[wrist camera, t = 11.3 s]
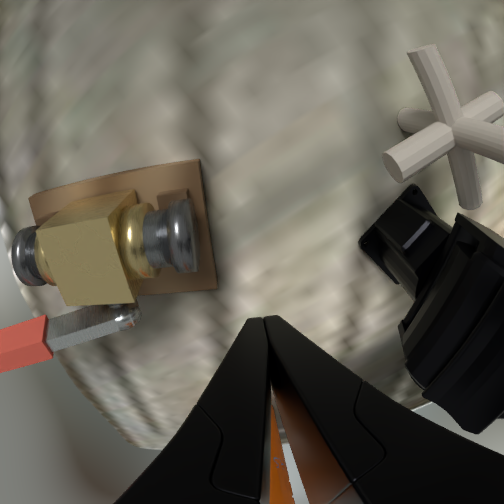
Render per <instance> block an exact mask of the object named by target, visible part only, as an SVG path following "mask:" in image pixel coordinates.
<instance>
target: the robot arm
mask: <svg viewBox="0 0 504 504" xmlns="http://www.w3.org/2000/svg"><path fill="white" fill-rule="evenodd" d="M414 189H415V192H414V193H413V190H414ZM365 241H367V243H365V244H364V242H365ZM359 245H360V247H361V248H362V249H363V250H364V251H365V252H366V253H367V254H368V255H369V256H370V257H371V258H372V259H373V260H374V261H375V262H376V263H377V264H378V265H379V266H380V268H381V269H382V270H383V271H384V272H385V273H386V274H387V275H388V276H389V277H390V278H391V279H392V280H393V281H394V283H395V284H401V285H402V287H403V288H404V289H405V290H406V292H407V293H408V294H409V295H410V297H411V298H412V299H413V300H414V304H413V305H412V307H411V309H410V310H409V312H408V313H407V315H406V317H405V318H404V320H401V322H400V324H399V325H398V329H399V333H400V338H401V342H402V346H403V351H404V355H405V360H406V361H405V367H406V369H407V370H408V372H409V374H410V376H411V378H412V379H413V380H414V382H415V383H416V384H417V385H418V386H419V387H420V388H421V389H423V390H424V391H423V392H422V396H423V397H424V398H425V399H428V400H430V401H432V402H434V403H436V404H437V405H439V406H440V407H441V408H443V409H444V410H446V411H447V412H448V413H449V414H450V415H451V416H452V417H453V419H454V420H455V421H456V422H457V423H458V424H459V426H461V428H462V429H463V430H465V431H468V432H471V433H474V434H480V433H481V432H482V431H483V430H485V429H486V428H487V427H488V426H489V425H490V424H491V423H493V422H494V421H495V420H496V419H504V238H503V237H501V236H500V235H498V234H497V233H495V232H494V231H492V230H491V229H489V228H487V227H485V226H483V225H482V224H480V223H478V222H476V221H474V220H472V219H470V218H468V217H466V216H464V215H462V214H460V213H457V215H456V218H455V224H454V226H453V227H451V226H450V225H448V224H447V223H446V222H444V221H443V220H441V219H440V218H439V217H437V215H436V213H435V212H434V210H433V209H432V207H431V205H430V204H429V202H428V200H427V199H426V197H425V196H424V194H423V193H422V191H421V190H420V188H419V187H418V186H416V185H414V184H411V185H410V186H409V187H408V188H407V189H406V190H405V191H404V192H403V193H402V194H401V196H400V197H399V198H398V199H397V200H396V201H395V202H394V203H393V204H392V205H391V206H390V207H389V208H388V209H387V210H386V211H385V212H384V213H383V214H382V215H381V216H380V218H379V219H378V220H377V221H376V222H375V223H374V224H373V225H372V226H371V227H370V228H369V229H368V230H367V231H366V232H365V233H364V234H363V235H362V236H361V238H360V239H359ZM271 386H272V390H273V394H274V397H275V401H276V404H277V407H278V410H279V413H280V416H281V419H282V423H283V426H284V429H285V432H286V435H287V438H288V441H289V444H290V447H291V450H292V453H293V456H294V459H295V462H296V465H297V468H298V471H299V474H300V477H301V480H302V483H303V486H304V489H305V492H306V495H307V498H308V501H309V503H310V504H504V455H502V454H499V453H497V452H495V451H493V450H490V449H488V448H486V447H484V446H482V445H479V444H477V443H475V442H473V441H471V440H468V439H466V438H464V437H462V436H460V435H458V434H456V433H454V432H452V431H449V430H448V429H446V428H444V427H442V426H440V425H438V424H436V423H434V422H432V421H430V420H428V419H426V418H424V417H422V416H420V415H418V414H416V413H415V412H413V411H411V410H409V409H408V408H406V407H404V406H402V405H401V404H399V403H397V402H395V401H394V400H392V399H391V398H389V397H388V396H386V395H385V394H383V393H382V392H380V391H379V390H377V389H376V388H375V387H373V386H372V385H370V384H369V383H368V382H366V381H363V382H362V379H361V378H360V377H359V376H357V375H356V374H355V373H353V372H352V371H350V370H349V369H348V368H346V367H345V366H344V365H342V364H341V363H340V362H338V361H337V360H336V359H334V358H333V357H332V356H330V355H329V354H328V353H326V352H325V351H324V350H322V349H321V348H320V347H319V346H317V345H316V344H315V343H313V342H312V341H311V340H309V339H308V338H307V337H306V336H304V335H303V334H302V333H300V332H299V331H298V330H296V329H295V328H294V327H293V326H291V325H290V324H289V323H288V322H286V321H285V320H284V319H282V318H281V317H280V316H278V315H273V316H265V317H264V318H262V317H256V318H248V319H247V320H246V322H245V324H244V326H243V327H242V329H241V331H240V332H239V334H238V336H237V337H236V339H235V341H234V342H233V344H232V346H231V348H230V349H229V351H228V353H227V354H226V356H225V358H224V359H223V361H222V363H221V364H220V366H219V367H218V369H217V371H216V372H215V374H214V376H213V377H212V379H211V381H210V382H209V384H208V386H207V387H206V389H205V390H204V392H203V394H202V395H201V397H200V398H199V400H198V402H197V405H195V406H194V407H193V409H192V410H191V412H190V414H189V415H188V417H187V418H186V420H185V421H184V423H183V424H182V426H181V427H180V428H179V430H178V431H177V433H176V434H175V436H174V437H173V438H172V439H171V440H170V442H169V443H168V444H167V445H166V447H165V448H164V449H163V450H162V451H161V453H160V454H159V455H158V456H157V457H156V458H155V459H154V461H153V462H152V463H151V464H150V465H149V466H148V467H147V468H146V469H145V470H144V472H143V473H142V474H141V475H140V476H139V477H138V478H137V479H136V480H135V481H134V482H133V484H132V485H131V486H130V487H129V488H128V489H127V490H126V491H125V492H124V493H123V494H122V495H121V496H120V497H119V498H118V499H117V500H116V501H115V502H114V503H113V504H269V502H270V461H271Z"/></svg>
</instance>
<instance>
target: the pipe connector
mask: <svg viewBox="0 0 504 504" xmlns="http://www.w3.org/2000/svg"><path fill="white" fill-rule="evenodd" d="M407 55H408V57H409V59H410V61H411V63H412V65H413V67H414V69H415V71H416V73H417V75H418V77H419V79H420V82H421V84H422V86H423V88H424V91H425V93H426V95H427V98H428V100H429V103H430V105H431V108H432V110H433V111H429V110H422V109H415V108H403V109H401V110H400V112H399V113H398V118H397V119H398V124H399V126H400V128H401V129H402V130H403V131H405V132H409V133H413V134H414V135H412V136H410V137H409V138H407V139H405V140H404V141H402V142H400V143H399V144H397V145H395V146H393V147H392V148H390V149H388V150H387V151H385V152H383V155H382V158H383V162H384V165H385V166H386V168H387V170H388V172H389V173H390V175H391V176H392V177H393V178H394V179H395V180H396V181H397V182H399V183H403V182H404V181H406V180H407V179H409V178H410V177H412V176H414V175H415V174H417V173H418V172H420V171H421V170H423V169H424V168H426V167H427V166H429V165H430V164H432V163H434V162H435V161H437V160H438V159H440V158H441V157H443V156H444V155H446V154H447V156H448V159H449V163H450V166H451V170H452V174H453V178H454V182H455V187H456V191H457V196H458V201H459V205H460V206H461V207H462V208H464V209H467V210H474V209H476V208H478V207H480V206H481V204H482V203H483V201H482V193H481V187H480V181H479V176H478V170H477V165H476V161H475V156H474V153H477V154H480V155H482V156H485V157H487V158H490V159H492V160H495V161H497V162H500V163H502V164H504V127H503V126H500V125H496V124H493V122H495V121H496V120H498V119H499V118H501V117H502V116H503V115H504V103H503V101H502V99H501V98H500V97H499V95H498V94H497V93H495V92H492V91H489V92H486V93H485V94H483V95H481V96H479V97H478V98H476V99H474V100H472V101H471V102H469V103H467V104H465V105H464V106H462V107H461V106H460V103H459V100H458V98H457V95H456V92H455V89H454V87H453V84H452V82H451V79H450V77H449V74H448V72H447V69H446V67H445V65H444V63H443V60H442V58H441V56H440V54H439V52H438V50H437V48H436V45H435V44H431V45H426V46H422V47H418V48H415V49H412V50H410V51H408V52H407Z"/></svg>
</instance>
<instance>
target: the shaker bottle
mask: <svg viewBox="0 0 504 504" xmlns="http://www.w3.org/2000/svg"><path fill="white" fill-rule="evenodd" d="M292 495H293V493H292V488H291V484H290V482H289V475H288V471H287V467H286V463H285V458H284V453H283V449H282V445H281V440H280V436H279V431H278V427H277V422H276V418H275V413H274V409H273V406H272V405H271V461H270V502H269V504H295V501H294V498H292Z"/></svg>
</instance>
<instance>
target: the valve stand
mask: <svg viewBox="0 0 504 504" xmlns="http://www.w3.org/2000/svg"><path fill="white" fill-rule="evenodd" d="M28 199H29V202H30V206H31V209H32V213H33V216H34V219H35V223H36V226H32V227H27V228H24V229H22V230H20V231H19V232H18V233H17V235H16V236H15V239H14V241H13V245H12V264H13V268H14V271H15V273H16V275H17V277H18V278H19V280H20V281H21V282H22V283H23V284H25V285H27V286H42V285H45V284H47V283H48V284H49V285H52V286H57V287H58V289H59V291H60V293H61V295H62V297H63V299H64V301H65V304H66V306H79V305H101V304H108V306H109V307H110V308H113V309H116V308H120V307H122V306H123V305H125V304H126V303H135V300H136V298H137V296H139V295H152V294H164V293H176V292H188V291H199V290H209V289H217V275H216V269H215V263H214V257H213V250H212V244H211V237H210V231H209V224H208V217H207V210H206V203H205V196H204V189H203V181H202V174H201V166H200V159H195V160H187V161H180V162H174V163H167V164H161V165H155V166H150V167H144V168H139V169H133V170H128V171H123V172H118V173H114V174H109V175H105V176H100V177H96V178H92V179H87V180H83V181H79V182H75V183H71V184H68V185H64V186H60V187H57V188H53V189H49V190H46V191H43V192H39V193H36V194H34V195H32V196H31V197H29V198H28Z"/></svg>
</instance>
